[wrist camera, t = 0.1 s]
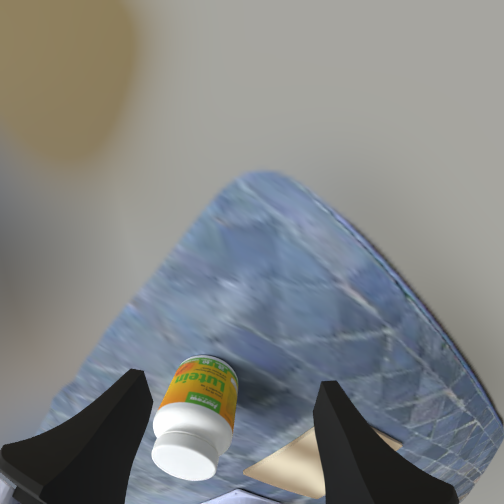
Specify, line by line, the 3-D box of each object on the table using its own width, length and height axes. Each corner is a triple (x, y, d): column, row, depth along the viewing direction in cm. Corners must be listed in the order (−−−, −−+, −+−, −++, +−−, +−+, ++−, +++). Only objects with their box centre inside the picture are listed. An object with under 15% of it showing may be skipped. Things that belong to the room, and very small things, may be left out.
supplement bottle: (237, 353, 21) (224, 443, 11) (240, 402, 22) (232, 489, 12) (172, 351, 21) (129, 430, 12) (182, 399, 22) (152, 478, 13)
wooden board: (316, 495, 25) (317, 499, 25) (243, 470, 24) (243, 473, 23) (401, 442, 23) (402, 445, 23) (338, 407, 22) (340, 411, 21)
